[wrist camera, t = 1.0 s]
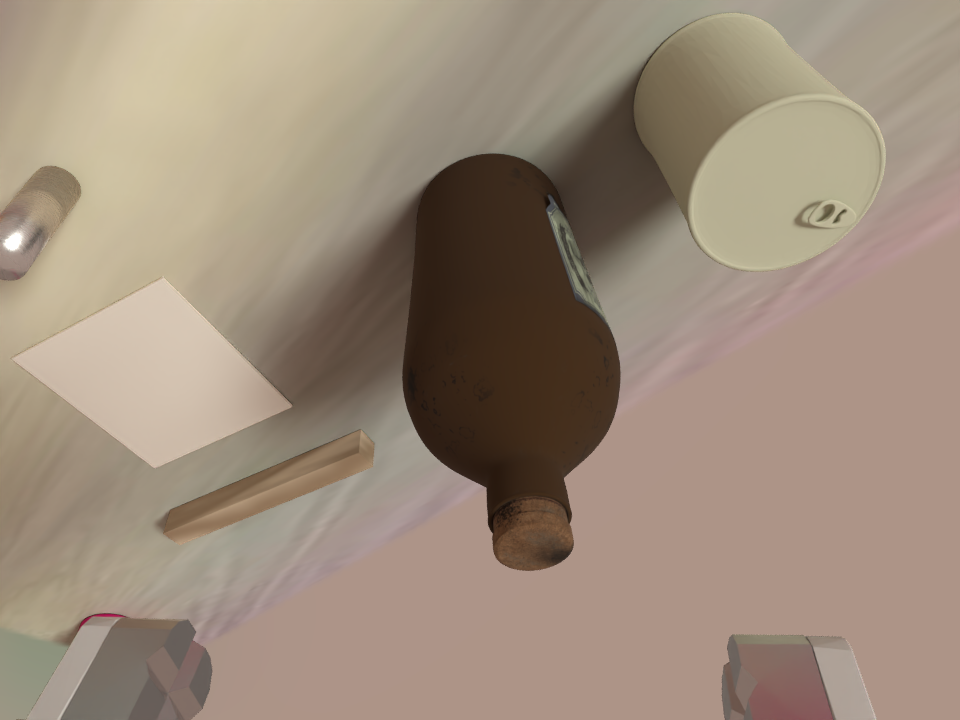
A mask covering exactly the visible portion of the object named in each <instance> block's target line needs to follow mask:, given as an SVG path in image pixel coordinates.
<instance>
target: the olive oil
mask: <svg viewBox="0 0 960 720" xmlns="http://www.w3.org/2000/svg"><path fill="white" fill-rule="evenodd" d="M402 381H403V392H404V398H405V402H406V406H407V409H408V412H409V414H410V417H411V420H412V422H413V424H414V427H415V429H416V431H417V433H418V435H419V437H420V438H421V440H422V441H423V443H424V444H425V446H426V447H427V448H428V449H429V451H430V452H431V453H432V454H433V455H434V456H435V457H436V458H437V459H438V460H440V461H441V462H442V463H443V464H444V465H446V466H447V467H449V468H450V469H452V470H453V471H455V472H457V473H459V474H460V475H462V476H464V477H466V478H468V479H470V480H472V481H474V482H476V483H478V484H480V485H482V486H484V487H486V488H487V510H488V525H489V528H490V530H491V532H492V533H493V537H492V540H493V550H494V554H495V556H496V558H497V560H498V561H499V562H500V563H502V564H503V565H505V566H507V567H509V568H513V569H517V570H525V571H532V570H541V569H545V568H548V567H551V566H554V565H556V564H558V563H560V562H562V561H563V560H565V559H566V558H567V557H568V556H569V555H570V553H571V551H572V549H573V545H574V540H573V535H572V530H571V526H570V522H571V518H572V512H571V509H570V504H569V499H568V494H567V490H566V486H565V482H564V477H565V476H566V475H567V474H569V473H570V472H571V471H572V470H573V469H574V468H575V467H577V466H578V465H579V464H580V463H581V462H582V461H584V460H585V459H586V458H587V457H588V456H589V455H590V454H591V453H592V452H593V451H594V450H595V448H596V447H597V446H598V445H599V443H600V442H601V441H602V439H603V438H604V436H605V435H606V433H607V432H608V430H609V428H610V425H611V423H612V421H613V418H614V415H615V412H616V408H617V403H618V397H619V389H620V362H619V356H618V351H617V347H616V343H615V340H614V337H613V335H612V332H611V330H610V327H609V325H608V322H607V320H606V317H605V315H604V312H603V310H602V307H601V305H600V302H599V300H598V298H597V295H596V293H595V290H594V288H593V285H592V282H591V280H590V277H589V275H588V272H587V270H586V267H585V264H584V262H583V259H582V257H581V254H580V251H579V249H578V246H577V244H576V241H575V238H574V236H573V233H572V230H571V227H570V224H569V222H568V220H567V217H566V214H565V211H564V208H563V205H562V202H561V199H560V197H559V194H558V192H557V190H556V188H555V187H554V185H553V183H552V182H551V181H550V179H549V178H548V177H547V176H546V175H545V174H544V173H543V172H542V171H541V170H540V169H538V168H537V167H536V166H534V165H533V164H531V163H529V162H527V161H525V160H523V159H520V158H517V157H514V156H510V155H504V154H481V155H476V156H472V157H468V158H465V159H462V160H460V161H458V162H456V163H454V164H452V165H450V166H449V167H447V168H446V169H445V170H443V171H442V172H441V173H440V174H439V175H438V176H436V178H435V179H434V180H433V181H432V182H431V183H430V185H429V186H428V188H427V189H426V191H425V193H424V195H423V197H422V199H421V202H420V205H419V209H418V215H417V227H416V243H415V258H414V269H413V279H412V289H411V299H410V309H409V318H408V327H407V335H406V344H405V352H404V361H403V376H402Z"/></svg>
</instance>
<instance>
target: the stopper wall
mask: <svg viewBox="0 0 960 720" xmlns="http://www.w3.org/2000/svg"><path fill="white" fill-rule="evenodd" d="M373 457H374V443H373V442H372V441H371V439H370V438H369V437H368V436H367V435H366V434H365V433H364V432H363V431H362V430H358V431H356V432H353V433H351V434H349V435H346V436H344V437H342V438H339V439H337V440H335V441H332V442H330V443H327V444H325V445H323V446H320V447H318V448H316V449H313V450H311V451H309V452H306V453H304V454H302V455H299V456H297V457H294V458H292V459H290V460H287V461H285V462H283V463H280V464H278V465H276V466H273V467H271V468H268V469H266V470H264V471H261V472H259V473H257V474H254V475H252V476H250V477H247V478H245V479H242V480H240V481H238V482H235V483H233V484H231V485H228V486H226V487H224V488H221V489H219V490H216V491H214V492H212V493H209V494H207V495H205V496H202V497H200V498H198V499H195V500H193V501H190V502H188V503H186V504H183V505H181V506H179V507H176V508H174V509H172V510H170V513H169V516H168V520H167V523H166V526H165V529H164V532H163V534H164V535H166V536H167V537H169V538H170V539H172V540H173V541H174V542H176V543H177V544H179V545H181V544H183V543H186V542H188V541H191V540H193V539H196V538H198V537H201V536H203V535H206V534H208V533H211V532H213V531H216V530H218V529H221V528H223V527H225V526H228V525H230V524H233V523H235V522H238V521H240V520H243V519H245V518H248V517H250V516H253V515H255V514H258V513H260V512H263V511H265V510H267V509H270V508H272V507H275V506H277V505H280V504H282V503H285V502H287V501H290V500H292V499H295V498H297V497H300V496H302V495H304V494H307V493H309V492H312V491H314V490H317V489H319V488H322V487H324V486H327V485H329V484H332V483H334V482H337V481H339V480H342V479H344V478H346V477H349V476H351V475H354V474H356V473H359V472H361V471H364V470H366V469H369V468H371V467H373Z"/></svg>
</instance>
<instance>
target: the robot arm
mask: <svg viewBox="0 0 960 720" xmlns="http://www.w3.org/2000/svg"><path fill="white" fill-rule="evenodd" d="M195 633H196V631H195V629H194V628H193V626H192V625H191V623H190V621H189V620H184V619H148V618H128V617H91V618H90V619H89V620H88V621H87V622H86V623H85V624H84V625H82V626H81V628H80V629H79V631H78V633H77V634H76V636H75V638H74V639H73V641H72V643H71V644H70V646H69V648H68V649H67V651H66V653H65V655H64V656H63V658H62V659H61V661H60V663H59V665H58V666H57V668H56V670H55V671H54V673H53V675H52V677H51V678H50V680H49V681H48V683H47V685H46V687H45V688H44V690H43V691H42V693H41V695H40V696H39V698H38V700H37V702H36V703H35V705H34V707H33V708H32V710H31V712H30V713H29V715H28V717H27V718H26V719H17V720H191V719H192V718H193V717H194V716H195V715H196V714H197V713H199V712H200V711H201V710H202V709H203V706H204V703H205V701H206V698H207V695H208V693H209V690H210V682H211V676H212V665H211V659H210V656H209V654H208V652H207V650H206V648H204V647H203V646H201V645H199V644H198V643H196V642H195V641H193V638H194V636H195ZM727 650H728V655H729V661H730V662H728V663H727V664H726V665H724V667H723V675H722V702H723V711H724V718H725V720H877V719H876V716H875V714H874V710H873V708H872V705H871V702H870V699H869V696H868V694H867V690H866V688H865V685H864V682H863V679H862V676H861V673H860V670H859V668H858V665H857V662H856V659H855V656H854V653H853V650H852V648H851V646H850V645H849V643H848V642H847V641H846V640H845V639H844V638H842V637H828V636H827V637H826V636H825V637H824V636H803V635H731V637H730V638H729V641H728V646H727Z"/></svg>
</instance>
